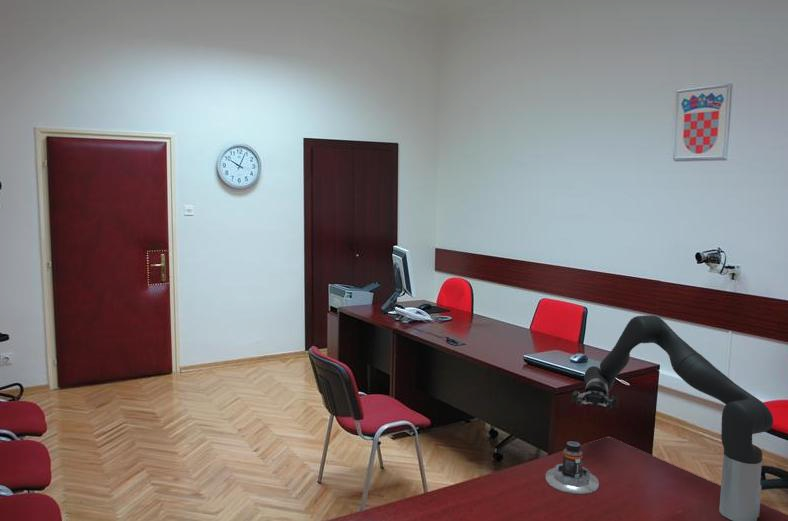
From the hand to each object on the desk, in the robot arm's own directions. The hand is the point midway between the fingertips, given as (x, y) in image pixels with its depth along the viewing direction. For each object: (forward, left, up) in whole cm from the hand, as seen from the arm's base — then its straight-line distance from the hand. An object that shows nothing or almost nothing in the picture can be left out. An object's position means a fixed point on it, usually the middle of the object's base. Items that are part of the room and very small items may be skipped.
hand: (593, 405), depth 187 cm
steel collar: (+10, +3, -22) cm, 25 cm away
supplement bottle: (+10, +3, -21) cm, 24 cm away
